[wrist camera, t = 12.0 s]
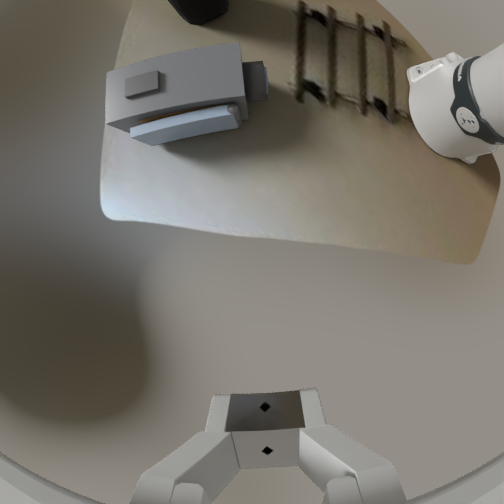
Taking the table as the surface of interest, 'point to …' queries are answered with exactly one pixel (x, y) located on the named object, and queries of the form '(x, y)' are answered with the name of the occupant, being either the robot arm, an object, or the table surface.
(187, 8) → the portable speaker
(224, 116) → the side panel
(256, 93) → the camcorder body
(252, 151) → the table surface
